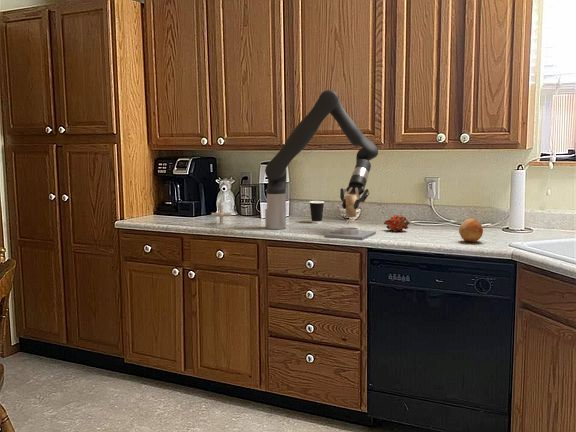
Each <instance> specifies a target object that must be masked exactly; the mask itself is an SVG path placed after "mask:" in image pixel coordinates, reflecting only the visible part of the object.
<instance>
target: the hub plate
mask: <svg viewBox="0 0 576 432" xmlns="http://www.w3.org/2000/svg"><path fill="white" fill-rule="evenodd" d="M374 235H377V231H375V230H374V231H373V230H362V228H360V227H357V226H356V227H355V226H346V227H341V228H338V229H336V230H333V231H331V232H327V233H325V234H324V238H332V239H342V240H343V239H345V240H358V241H364V240H365V239H366V240H367V239H368V238H370V237H372V236H374Z"/></svg>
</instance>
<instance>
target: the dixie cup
mask: <svg viewBox="0 0 576 432" xmlns="http://www.w3.org/2000/svg"><path fill="white" fill-rule="evenodd" d="M324 205H325V201H323V200H312V201H309V208H310V209H309V210H310V216H311V222H312V224H322V221H323V215H324V214H323V213H324Z"/></svg>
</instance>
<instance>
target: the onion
mask: <svg viewBox="0 0 576 432" xmlns="http://www.w3.org/2000/svg"><path fill="white" fill-rule="evenodd" d="M458 229H459V230H458V233H459V235H460V237H461V239H462V240H463V241H465V242H469V243H475V242H478V241H479V240H480V239H481V238H482V237H483V234H484V233H483V232H484V229H483V226H482V224H481V222H480V221H479V220H477V219H475V218H472V217H471V218H467V219H465V220H464V221H462V222H461V224H460V225H459V228H458Z"/></svg>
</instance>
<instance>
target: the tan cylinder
mask: <svg viewBox="0 0 576 432" xmlns="http://www.w3.org/2000/svg"><path fill="white" fill-rule="evenodd" d="M345 196H346V208H345V217H346V218H355V217H356V218H357V209H354V204H355V201H356V200H357V199H356V193H349V194H346V193H345Z"/></svg>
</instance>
